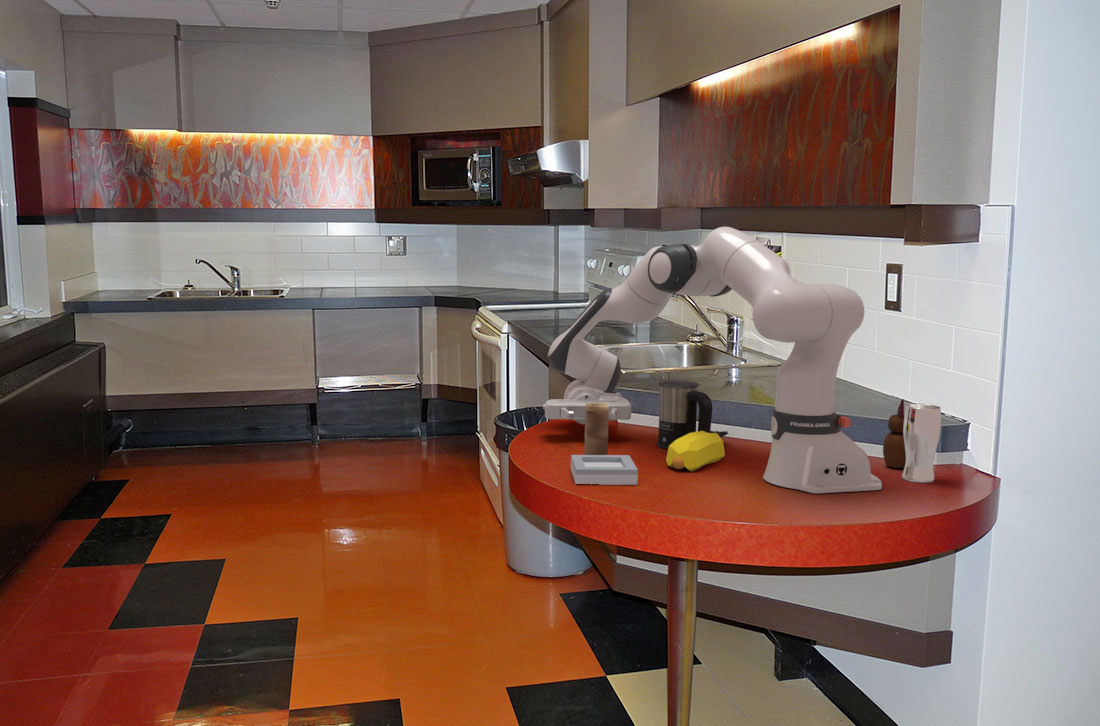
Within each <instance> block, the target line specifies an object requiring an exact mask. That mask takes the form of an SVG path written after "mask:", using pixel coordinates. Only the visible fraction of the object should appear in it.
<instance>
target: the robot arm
mask: <svg viewBox="0 0 1100 726" xmlns="http://www.w3.org/2000/svg"><path fill="white" fill-rule="evenodd" d="M732 290H733V291H734V292H735V293H737V295H739V296H740V298H742V299H744V300H745V301H746V302H747V303H748V304H749V305H751V307H752V312H751V313H752V321H753V325H754V328H755V330H756V331H757V333H758V334H759V335H761V336H762V337H763V338H765V339H768V340H772V341H775V342H780V343H786V344H787V343H788V344H789V343H790V344H791V343H793V344H794V345H793V347H792V350H791V352H790V354H789V355H788V358H787V359H786V360H785V361H784V362H783V363H782V364H781V365H780V366H779V368H778V370H777V373H776V384H775V385H776V387H775V405H774V406H775V407H774V408H773V409H772V417H771V426H770V432H771V437H772V438H771V439H772V440H771V446H770V451H769V455H768V457H769V458H768V461H767V465H766V468H765V471H764V473H763V475H762V479H763V480H764V481H766V482H767V483H770V484H772V485H775V486H779V487H781V488H782V487H783V488H789V489H793V490H799V491H803V492H807V493H809V494H810V493H811V494H827V493H828V494H829V493H844V492H845V493H847V492H849V493H851V492H863V491H864V492H866V491H880V490H882V489H883V483H882V480H881V479H880V478H878V476H876V475H874V474H872V473H871V472H872V471H871V463H870V459H869V457H868V454H867V453H866V452H865V450H864V449H863V448H861V447H860V446H859V445H858V444H856V442H854V441H853V439H851V438H850V437H849V436H847V435H846V434H845V433H844V432H842V428H844V429H848V428H849V427H851V424H852V420H851V419H850V417H847V416H844V415H842V416H841V415H840V414H837V413H836V412H834V405H835V404H834V403H835V392H836V389H835V388H836V379H837V374H838V369H839V366H840V363H841V359H842V356H843V354H844V352H845V349H846V346H847V344H848V342H849V340H851V337H852V336H853V334H854V333H855V332H856V331H858V329H859V328H860V327H861V325H862V324H863V321H864V317H865V305H864V302H863V299H862V298H861V296H860V295H859V293H857V292H856V291H855V290H853V289H851V288H849V287H845V286H841V285H839V284H838V285H837V284H835V283H834V284H833V283H829V284H828V283H826V284H819V283H818V284H810V283H804V282H801V281H798V280H796V279H795V278H794V277H792V275H791V268H790V265H789V263H788V261H787V260H786V259H784V258H783V257H781V256H780V255H779V254H777V252H774V251H773V250H772V249H770V248H769V247H767V246H766V245H765V244H763V243H762V242H760V241H759V240H758V239H756V238H754V237H752V236H751V235H749V234H747V233H745V232H743V231H741V230H739V229H736V228H734V227H730V226H720V227H717V228H714V229H713V230H712V231H711V232H709V233H708V235H706V237H705V238H704V240H703V242H702V243H701V244H700V245H691V244H690V243H672V244H667V245H662V246H654V247H652V248H650V250H648V251H647V252H646V253H645V254H644V255H643V257H642V258H640V260H639V261H638V262H637V264H636V265H635V267H633V269H632V271H631V272H630V274H629V275H628V277H627V278H626V279H625V281H623V282H622V283H621V284H620V285H618V286H615V287H614V288H605V289H604V290H602V291H601V292H600V293H598V295H597V296H596V297H594V298H593V299H592V301H591V302H590V303H589V304H587V306H586V307H585V308H584V309H583V310H582V312H581V313H579V315H578V316H577V317H576V318H575V320H573V321H572V323H570V324H569V325H568V327H567V328H566V329H565V330H563V332H561V334H559V336H557V337H556V338H555V339H554V341H552V343H551V345H550V347H549V350H548V352H547V359H548V362H549V364H550V366H551V369H552V370H554V371H557V372H558V373H561V374H563V375H567V376H570V377H571V378H574V379H575V380H573V381H572V382H570V383H569V384H568V385H567V387H566V388H565V390H564V391H565V392H564V395H563V399H559V398H558V399H557V398H555V399H553V398H550V399H548V400H546V401H545V403H544V404H542V409H543V410H544V418H545V419H548V420H573V421H574V422H576V423H577V424H580V425H585V403H607V405H608V406H609V420H608V421H616V420H622V421H623V420H625V421H626V420H627V421H629V420H631V417H632V404H631V402H630V401H629V400H628V399H627V398H625V397H623V396H622V394H621V393H620V392H618V391H617V392H616V391H614V390H615V389H616V387H617V385H618V383H619V380H620V378H621V375H622V374H621V373H622V366H621V361H620V358H619V357H618V356H617V355H615V354H613V353H611V352H609V351H607V350H605V349H603V348H601V347H599V346H597V345H594V344H593V343H591V342H589V341H587V340H585V339H584V338H585V337H586V336H587V334H588V333H589V332H590V331H592V329H593V328H594V327H595V326H596V325H597V324H598V323H601V322H604V321H617V322H618V321H619V322H625V323H628V324H630V323H631V324H645V323H648V322H651V321H653V320H655V319H656V318H657V317H658V316H659V315H660V314H661V313H662V311H663V310H664V309H665V307H667V305H668V303H669V301H670V300H671V298H672V297H673V295H674V294H677V295H680V296H681V295H683V296H688V297H711V298H713V297H718V296H719V297H720V296H723V295H725V294H728V293H729V292H731V291H732Z"/></svg>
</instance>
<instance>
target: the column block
mask: <svg viewBox="0 0 1100 726" xmlns="http://www.w3.org/2000/svg"><path fill="white" fill-rule="evenodd" d="M609 421H610V420H609V406H608V405H607V403H585V424H584V449H583V450H584V452H583V453H584V454H583V455H609V454H608V453H609V452H608V449H609Z"/></svg>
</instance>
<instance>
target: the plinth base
mask: <svg viewBox="0 0 1100 726" xmlns="http://www.w3.org/2000/svg"><path fill="white" fill-rule="evenodd" d="M570 471H571V474H572V477H573V481H574V485H576V484H591V485H592V484H599V486H600V485H601V486H604V485H605V486H611V485H612V486H614V485H615V486H626V485H627V486H628V485H629V486H638V479H639V478H638V477H639V476H638V475H639V474H638V473H639V472H638V471H639V470H638V468H637V465H636V464H635V462H634V461H633V459H632V457H631V456H630V455H629V454H622V455H621V454H608V455H584V454H571V455H570ZM592 486H593V485H592Z"/></svg>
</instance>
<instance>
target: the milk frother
mask: <svg viewBox="0 0 1100 726" xmlns="http://www.w3.org/2000/svg"><path fill="white" fill-rule="evenodd" d="M658 385H659V393H658V394H659V399H658V401H659V402H658V405H659V407H658V437H657V443H656V446H657V447H659V448H662V449H665V450H666V449H667V450H668V448H669V445H671V444H672V443H673V442H674V441H675V440H677V439H679V438H681V437H683V436H685V435H687V434H689V433H693V432H698V431H705V432H707V433H717V434H718V435H719V436H720V438H721V439H722V437H725V436H727V435H729V433H728V432H729V431H727V430H725V431H724V430H723V431H719V430H714V431H713V430H711V429H712V418H713V417H712V416H713V402H712V399H711V397H710V396H708V394H706V393H705V392H702V391H699V390H698V387H699V385H700V384H699V383H698V382H694V381H689V380H688V381H687V380H664V381H659V382H658ZM697 407H698V409H697ZM697 410H698V421H697Z"/></svg>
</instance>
